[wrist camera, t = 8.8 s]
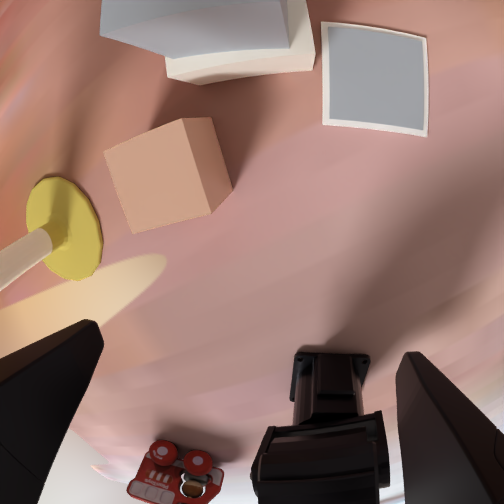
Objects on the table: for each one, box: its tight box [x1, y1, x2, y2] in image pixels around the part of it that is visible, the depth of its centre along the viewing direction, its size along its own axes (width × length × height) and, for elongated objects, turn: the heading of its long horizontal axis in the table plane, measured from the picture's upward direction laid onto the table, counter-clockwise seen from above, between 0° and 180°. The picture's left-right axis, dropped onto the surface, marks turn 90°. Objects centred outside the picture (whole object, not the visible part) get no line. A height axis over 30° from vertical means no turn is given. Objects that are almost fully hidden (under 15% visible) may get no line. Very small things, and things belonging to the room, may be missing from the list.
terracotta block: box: [103, 117, 233, 234], centre depth 17 cm, size 5×5×5 cm
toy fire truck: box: [127, 440, 224, 504], centre depth 32 cm, size 7×12×10 cm, turn 84°
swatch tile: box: [321, 22, 428, 137], centre depth 15 cm, size 7×7×1 cm
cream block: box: [165, 0, 316, 86], centre depth 13 cm, size 7×7×5 cm
